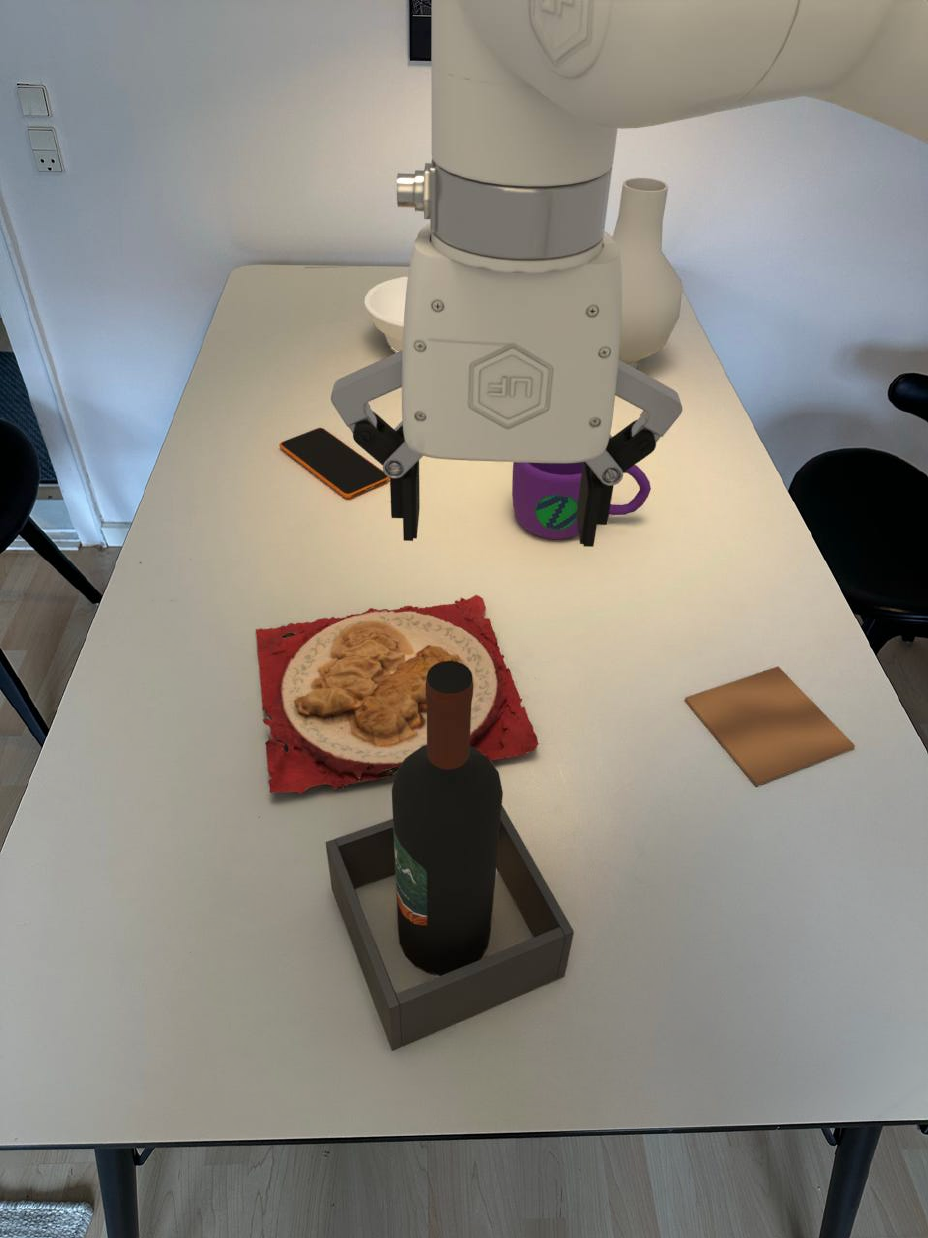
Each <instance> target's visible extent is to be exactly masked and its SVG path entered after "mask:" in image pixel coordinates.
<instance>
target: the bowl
mask: <svg viewBox="0 0 928 1238" xmlns="http://www.w3.org/2000/svg"><path fill="white" fill-rule="evenodd" d="M407 280H408V275H407V276H400V277H397V278H392V279H388V280H386V281H382V282H380V283H379V284H376V285H375V286H373V287H372V288H370V289H369V290H368V291H367V293H366V295H365V297H364V300H363V302H364V303H363V304H364V306H365V309H366V311H367V313H368V315H369V317H370V319H371V321H372V322H373V325H374V326H375V327H376V328H377V330H378V331H380V332H382V334H384V336H385V339H386V342H387V344H388V343H389V344H390V346H391V347H393V348H394V349H395V350H397V351H402V350H403V331H404V311H405V300H406V289H407ZM389 344H388V345H389ZM390 350H391V351H392V352H393V353H394V354H395V353H396V352H395V351H393V350H392V349H391V348H390Z"/></svg>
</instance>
